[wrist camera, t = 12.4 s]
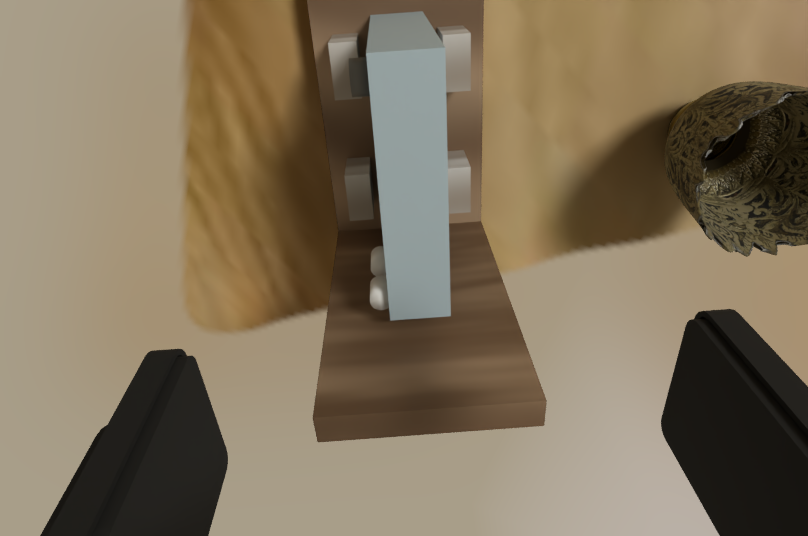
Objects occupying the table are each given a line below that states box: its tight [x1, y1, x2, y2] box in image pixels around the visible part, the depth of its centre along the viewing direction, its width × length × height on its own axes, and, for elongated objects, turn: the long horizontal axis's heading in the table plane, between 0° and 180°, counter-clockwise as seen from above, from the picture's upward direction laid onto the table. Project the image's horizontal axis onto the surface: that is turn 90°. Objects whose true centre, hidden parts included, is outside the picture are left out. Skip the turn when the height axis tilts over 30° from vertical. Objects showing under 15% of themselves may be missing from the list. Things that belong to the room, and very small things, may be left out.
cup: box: [664, 81, 808, 256], centre depth 27 cm, size 8×7×8 cm
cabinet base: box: [307, 0, 546, 442], centre depth 23 cm, size 14×8×16 cm, turn 4°
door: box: [349, 11, 451, 321], centre depth 23 cm, size 10×3×10 cm, turn 3°
